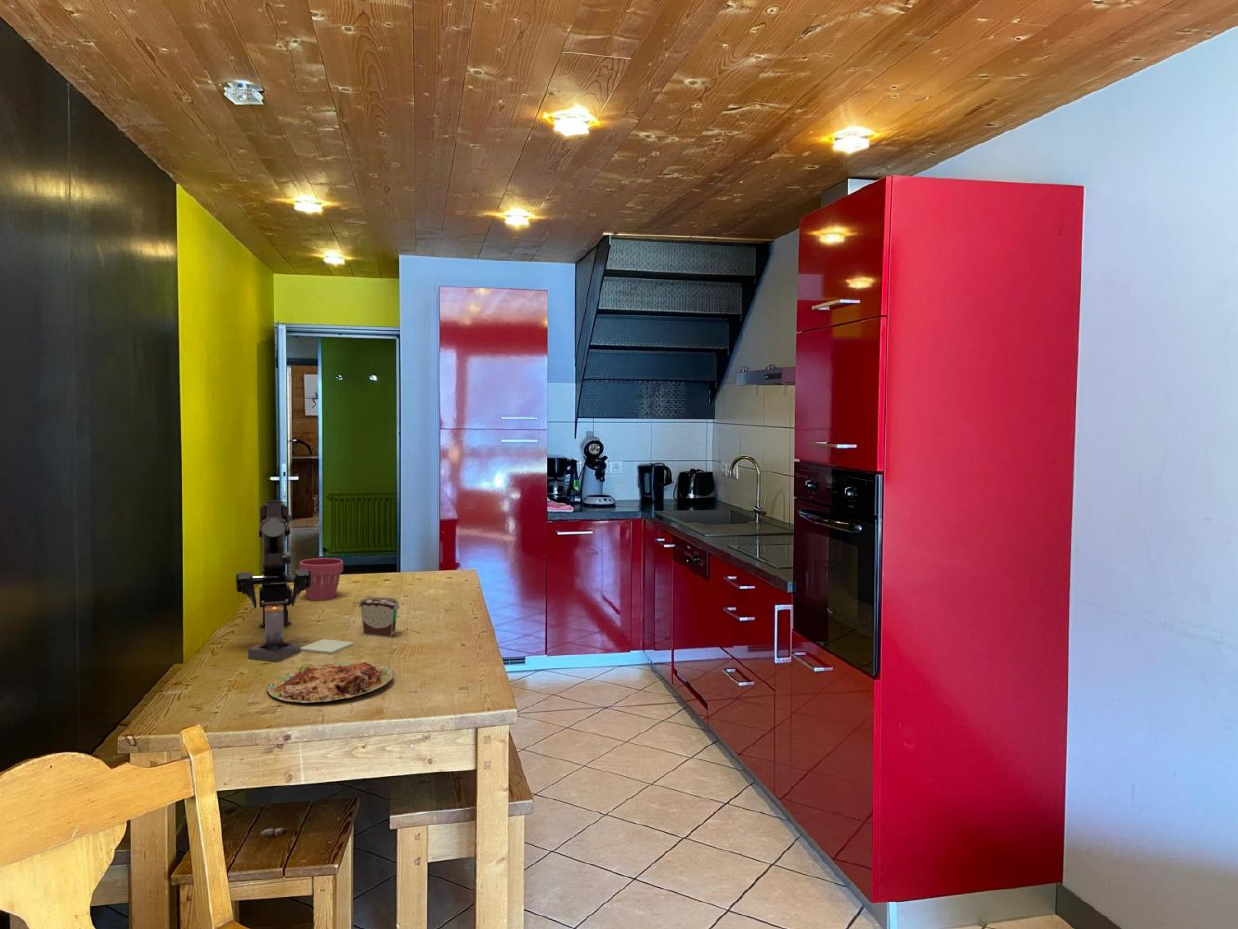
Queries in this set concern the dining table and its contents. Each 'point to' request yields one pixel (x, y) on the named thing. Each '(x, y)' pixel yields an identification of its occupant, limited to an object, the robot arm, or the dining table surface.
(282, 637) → the steel peg
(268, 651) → the block
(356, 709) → the dining table surface
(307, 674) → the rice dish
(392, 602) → the food container
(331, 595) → the plant pot
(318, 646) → the rest pad
